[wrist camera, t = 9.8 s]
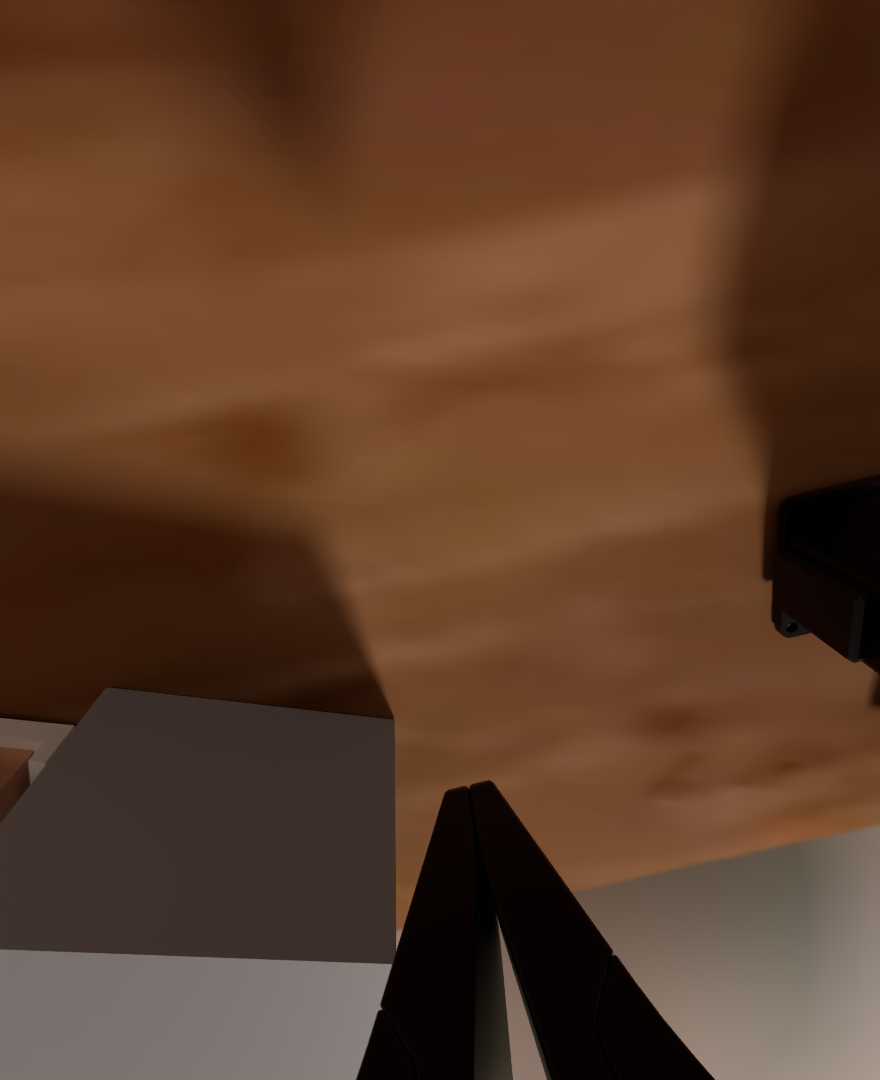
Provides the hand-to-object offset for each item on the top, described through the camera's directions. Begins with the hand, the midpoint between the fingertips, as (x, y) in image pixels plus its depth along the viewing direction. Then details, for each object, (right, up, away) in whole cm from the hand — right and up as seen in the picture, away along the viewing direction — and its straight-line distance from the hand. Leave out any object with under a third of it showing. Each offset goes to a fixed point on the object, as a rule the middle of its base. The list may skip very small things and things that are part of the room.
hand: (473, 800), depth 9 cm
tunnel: (-10, -7, +15) cm, 19 cm away
